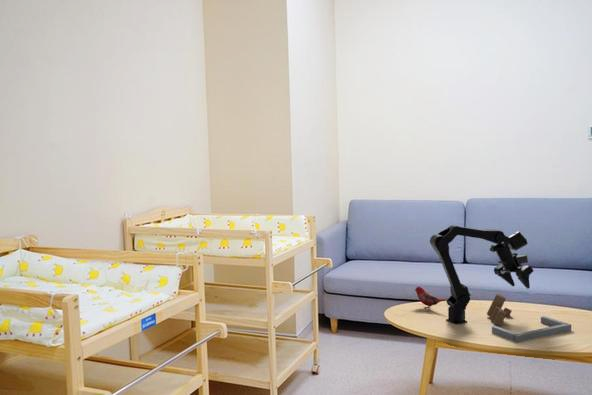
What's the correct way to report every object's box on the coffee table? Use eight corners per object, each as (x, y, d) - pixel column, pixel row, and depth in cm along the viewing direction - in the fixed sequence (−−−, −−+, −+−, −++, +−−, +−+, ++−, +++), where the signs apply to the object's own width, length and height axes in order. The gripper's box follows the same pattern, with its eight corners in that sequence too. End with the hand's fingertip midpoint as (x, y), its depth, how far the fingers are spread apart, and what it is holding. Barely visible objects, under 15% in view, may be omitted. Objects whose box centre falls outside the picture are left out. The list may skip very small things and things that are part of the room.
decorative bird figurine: (416, 305, 250) (416, 285, 249) (449, 312, 237) (449, 290, 236) (413, 306, 248) (412, 286, 247) (446, 313, 235) (445, 292, 234)
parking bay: (517, 342, 196) (517, 336, 195) (491, 332, 207) (491, 326, 207) (571, 330, 207) (571, 324, 207) (544, 321, 219) (544, 316, 219)
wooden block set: (502, 332, 215) (513, 311, 212) (482, 321, 219) (492, 301, 216) (507, 318, 231) (517, 298, 228) (489, 309, 234) (498, 289, 231)
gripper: (534, 247, 216) (550, 279, 217) (504, 245, 234) (519, 275, 235) (515, 261, 213) (531, 293, 214) (486, 258, 231) (501, 288, 232)
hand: (521, 287), depth 224 cm, fingers open, 9 cm apart
